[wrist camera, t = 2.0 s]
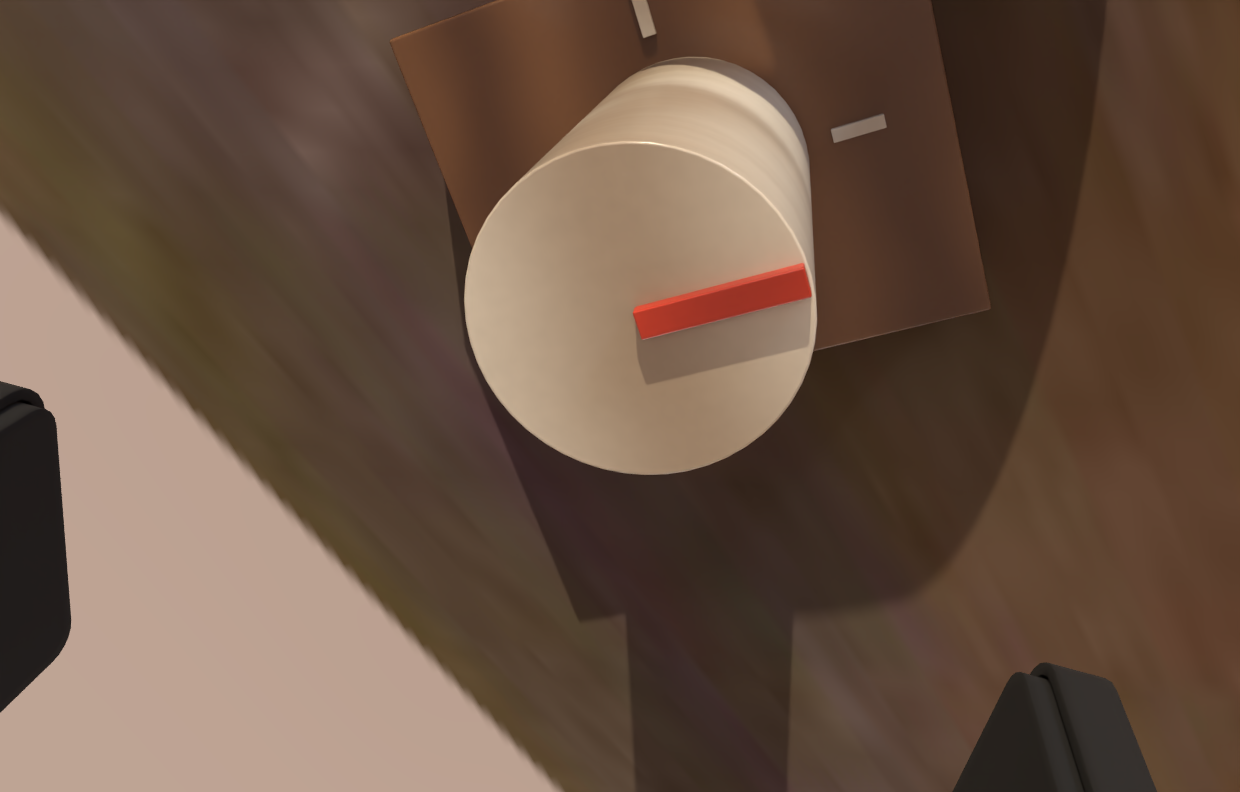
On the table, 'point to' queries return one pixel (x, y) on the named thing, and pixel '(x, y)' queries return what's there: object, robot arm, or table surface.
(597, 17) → the brown square plate
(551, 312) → the rotary dial knob
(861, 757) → the table surface
